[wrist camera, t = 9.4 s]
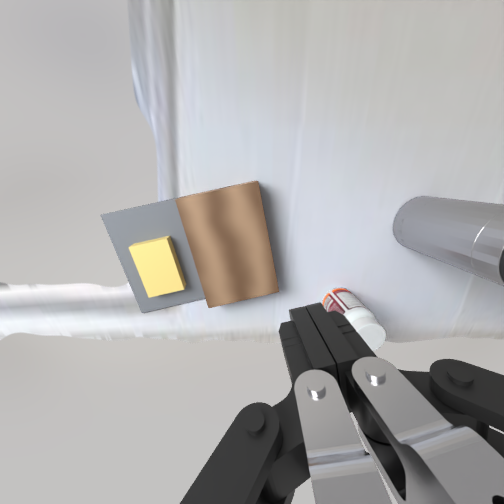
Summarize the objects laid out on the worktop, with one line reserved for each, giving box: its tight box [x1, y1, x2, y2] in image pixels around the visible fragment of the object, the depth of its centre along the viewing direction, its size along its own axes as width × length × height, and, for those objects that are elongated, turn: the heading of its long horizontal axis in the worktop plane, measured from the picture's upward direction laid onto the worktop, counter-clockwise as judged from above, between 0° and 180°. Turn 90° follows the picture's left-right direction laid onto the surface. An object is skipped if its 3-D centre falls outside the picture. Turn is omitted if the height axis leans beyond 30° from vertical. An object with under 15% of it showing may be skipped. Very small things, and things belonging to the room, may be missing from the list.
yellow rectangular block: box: [129, 236, 186, 298], centre depth 38 cm, size 6×9×2 cm, turn 12°
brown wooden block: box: [175, 181, 279, 308], centre depth 38 cm, size 12×18×4 cm, turn 12°
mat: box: [101, 198, 205, 313], centre depth 39 cm, size 12×18×1 cm, turn 12°
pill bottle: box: [322, 288, 386, 351], centre depth 40 cm, size 6×6×11 cm
